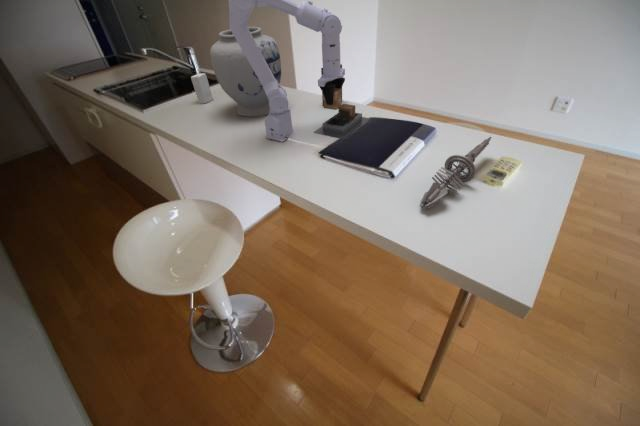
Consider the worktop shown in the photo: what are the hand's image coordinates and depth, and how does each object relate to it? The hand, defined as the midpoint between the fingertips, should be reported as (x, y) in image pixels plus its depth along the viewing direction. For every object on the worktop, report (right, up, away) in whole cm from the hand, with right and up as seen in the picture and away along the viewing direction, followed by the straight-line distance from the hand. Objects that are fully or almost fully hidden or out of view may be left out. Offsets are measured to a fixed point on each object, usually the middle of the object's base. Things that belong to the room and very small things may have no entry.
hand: (332, 102), depth 100 cm
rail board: (+4, -7, +6) cm, 10 cm away
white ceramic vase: (-32, +7, +26) cm, 42 cm away
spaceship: (+32, -31, -24) cm, 50 cm away
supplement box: (+1, +7, +24) cm, 25 cm away
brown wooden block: (+6, -5, +7) cm, 10 cm away
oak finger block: (0, -1, +1) cm, 2 cm away
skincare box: (-60, +15, +39) cm, 73 cm away
